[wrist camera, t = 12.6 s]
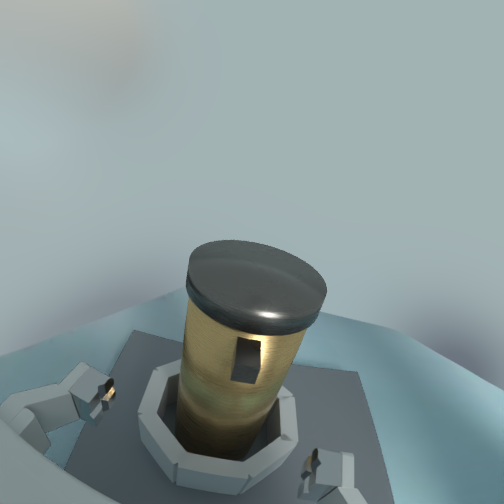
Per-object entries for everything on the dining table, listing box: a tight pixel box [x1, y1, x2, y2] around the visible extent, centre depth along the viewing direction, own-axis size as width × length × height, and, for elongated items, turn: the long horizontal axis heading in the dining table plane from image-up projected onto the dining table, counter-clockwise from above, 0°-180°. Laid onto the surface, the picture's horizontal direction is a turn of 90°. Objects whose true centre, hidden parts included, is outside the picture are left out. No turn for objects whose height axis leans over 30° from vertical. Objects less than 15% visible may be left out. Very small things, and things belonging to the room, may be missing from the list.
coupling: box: [175, 240, 327, 461], centre depth 14 cm, size 8×5×12 cm
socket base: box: [64, 330, 394, 504], centre depth 16 cm, size 20×16×4 cm
